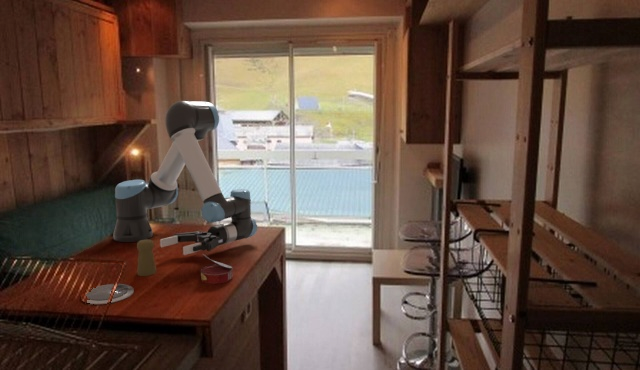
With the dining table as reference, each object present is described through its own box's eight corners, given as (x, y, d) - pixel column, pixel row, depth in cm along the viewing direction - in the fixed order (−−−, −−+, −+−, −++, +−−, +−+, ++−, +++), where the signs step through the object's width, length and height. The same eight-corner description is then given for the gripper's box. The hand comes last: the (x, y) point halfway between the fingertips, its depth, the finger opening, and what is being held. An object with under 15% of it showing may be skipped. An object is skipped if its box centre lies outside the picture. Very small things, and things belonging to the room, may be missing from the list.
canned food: (206, 288, 152) (206, 258, 155) (236, 285, 151) (236, 255, 154) (194, 284, 141) (195, 251, 144) (227, 281, 141) (227, 248, 144)
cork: (160, 270, 154) (158, 238, 152) (148, 277, 148) (146, 243, 147) (145, 268, 156) (143, 236, 154) (132, 274, 150) (130, 241, 149)
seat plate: (71, 295, 133) (71, 292, 133) (118, 282, 144) (118, 278, 144) (94, 309, 125) (94, 305, 124) (143, 293, 135) (142, 290, 135)
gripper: (244, 250, 167) (194, 265, 151) (201, 238, 183) (152, 250, 167) (243, 230, 166) (193, 243, 150) (201, 219, 182) (151, 230, 166)
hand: (171, 247), depth 158 cm, fingers open, 13 cm apart
